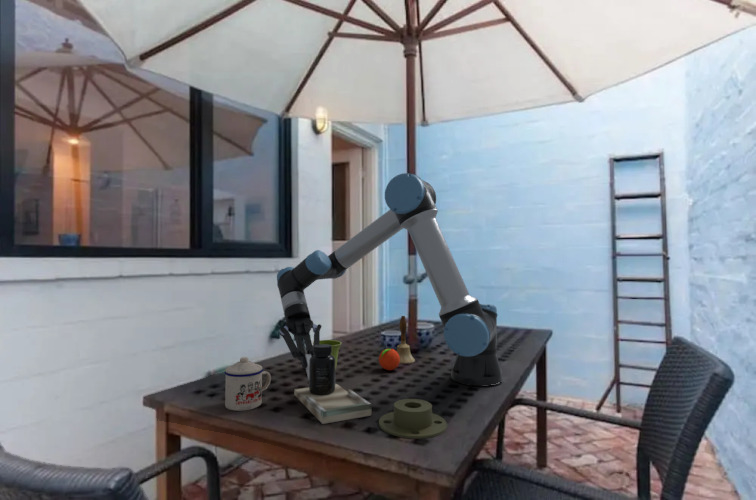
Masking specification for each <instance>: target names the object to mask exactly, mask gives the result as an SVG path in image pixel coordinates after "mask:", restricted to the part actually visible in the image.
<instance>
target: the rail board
mask: <svg viewBox="0 0 756 500" xmlns="http://www.w3.org/2000/svg"><path fill="white" fill-rule="evenodd" d="M293 394H294V396H295V397H296V398H297V400H298V401H300V403H302V404H303V406H304V407H306V409H307V410H309V412H310V413H311V414H312V415H313V416H314V417H315V418H316V419H317V420H318V421H319V422H320V423H321V424H323V425H324V424H330V423H335V422H341V421H347V420H355V419H359V418H364V417H369V416H370V417H371V416H372V403H371V402H369V401H368V400H367V399H365V398H363V397H362V396H360V395H359V394H358V393H356V392H355V391H353V389H350V388H349V389H347V390H346V389H344V388H343V387H342V386H340V384H337V383H335V391H334V392H333V393H331V394H327V395H315V394H312V393H310V391H309V386H308V387H303V388H302V387H301V388H296V389H295V388H294V393H293Z"/></svg>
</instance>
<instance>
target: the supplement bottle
mask: <svg viewBox="0 0 756 500" xmlns="http://www.w3.org/2000/svg"><path fill="white" fill-rule="evenodd" d="M312 346H313V353H314V355H313V356H312V357H311V358H310V360H309V380H308V387H309V391H310V393H312V394H315V395H327V394H331V393H333V392H334V391H335V384H336V369H335V358H334V356H332V355H331V353H332V346H331V345H328V344H318V345H312Z"/></svg>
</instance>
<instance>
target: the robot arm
mask: <svg viewBox="0 0 756 500" xmlns="http://www.w3.org/2000/svg"><path fill="white" fill-rule="evenodd" d="M384 201H385V204H386V206H387V207H388V208H389V210H387V211H386V212H384V214H382V215H381V216H379V217H378V218H376V219H375V220H374V221H373V222H371V223H370V224H368V225H367V226H366V227H365V228H363V229H362V230H361V231H359V232H358V233H356V234H355V235H354V236H353V237H351V238H350V239H349V240H348V241H346V242H345V243H343V244H342V245H341V246H339V247H338V248H337V249H335V250H334V251H332V252H331V253H330V254H328V255H327V254H326V253H325V252H324V251H321V250H319V249H316V250H314V251H313V252H312V253H310V254H308V255H307V256H306V257H305V258H304V259H303V260H302V261H300V263H299V264H297V265H296V266H295V267H294V266H293V267H292V266H287V267H284V268H281V269H280V270H279V271H278V272H277V274H276V281H277V283H276V285H277V288H278V292H279V295H280V300H281V305H282V310H283V315H284V320H285V326H281V327H280V328H279V331H278V334H279V336H281V337H282V338H283V339H284V341H285V344H286V345H287V347H288V350H289V351H290V353H291V356H292V358H294V359H296V358H297V359H298V360H299V361H300V364H301V368H302V369H305V371H306V372H305V373H306V374H307V375H306V376H307V380H308V381H309V360H310V358H311V357H312V356H313V355H314V353H313V346H314V345H318V344H320V340H321V339H320V334H321V333H320V332H321V329H322V324H320V323H319V324H318V325H317V324H315V323H314V321H313V320H312V319H311V314H310V310H309V307H308V303H307V302H308V301H307V299H306V295H305V292H304V291H305V290H306V289H307V288H308V287H310V286H311V285H312V284H314V283H315V282H316V281H317V280H325V279H326V280H327V279H328V280H329V279H333V280H335V279H338V278H340V277H343V275H344V274H345V273H346V271H347V269H349V268H351V266H353V265H355V264H356V263H357V262H359V261H360V260H361V259H363V258H364V257H365V256H367V255H368V254H370V253H371V252H373V251H374V250H375V249H376V248H378V247H380V246H381V245H382V244H384V243H385V242H386V241H388V240H389V239H391V238H392V237H393V236H395V235H396V234H398V233H399V232H400V231H402V230H403V229H404V230H407V231H408V233H409V235H410V239H411V240H412V242H413V245H414V247H415V250H416V252H417V254H418V257H419V259H420V261H421V263H422V265H423V268H424V271H425V273H426V275H427V277H428V280H429V282H430V284H431V287H432V289H433V291H434V293H435V295H436V298H437V300H438V303H439V305H440V310H439V313H438V316H439V318H440V321H441V324H442V326H443V339H444V342H445V344H446V346H447V347H448V349H450V351H451V352H453V353H454V354H456V355H455V360H454V362H453V365H452V368H451V370H450V371H451V375H450V377H451V380H452V381H454V382H456V383H459V384H462V383H463V384H462V385H466V384H469V385H468V386H472V385H491V384H496V383H498V382H501V381H502V382H503V372H502V368H501V364H500V363H499V362H500V361H499V360H498V356H497V348H498V347H497V343H498V341H497V335H498V334H497V332H498V331H497V322H498V321H497V319H498V313H497V307H496V306H495V305H494V304H488V303H487V304H486V303H480V302H479V300H478V298H477V297H474V296H472V295H471V294H470V293H469V290H468V288H467V286H466V284H465V282H464V279H463V277H462V275H461V272H460V270H459V268H458V266H457V264H456V261H455V259H454V257H453V255H452V253H451V250H450V248H449V246H448V243H447V241H446V239H445V236H444V235H443V232H442V230H441V227H440V226H439V223H438V221H437V219H436V218H437V214H438V213H439V210H438V208H437V205H436V203H437V194H436V191H435V189H434V187H433V186H432V185H431V184H430V183H428V182H427V181H426V180H423V179H422V178H421V177H419V175H416V174H414V173H408V172H406V173H405V172H403V173H399V174H397V175H395V176H394V177H393V178H391V180H389V182H388V183H387V185H386V188H385V190H384ZM311 331H312V332H313V333H314V334H313V341H312V340H311V335H310V333H311ZM291 334H292V336H293V337H292V336H291ZM294 340H295V341H294ZM303 341H304V342H303ZM313 342H314V345H313ZM304 345H305V346H304Z"/></svg>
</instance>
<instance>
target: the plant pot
mask: <svg viewBox="0 0 756 500" xmlns="http://www.w3.org/2000/svg"><path fill="white" fill-rule="evenodd" d="M320 344H328V345H331V346H332V353H331V355H332V356H334V358H335V370H336V369H337V366H338V365H337V364H338V357H339V350H340V348H341V345H342V342H341V341H340V340H334V339H320ZM312 346H314V341H312Z"/></svg>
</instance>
